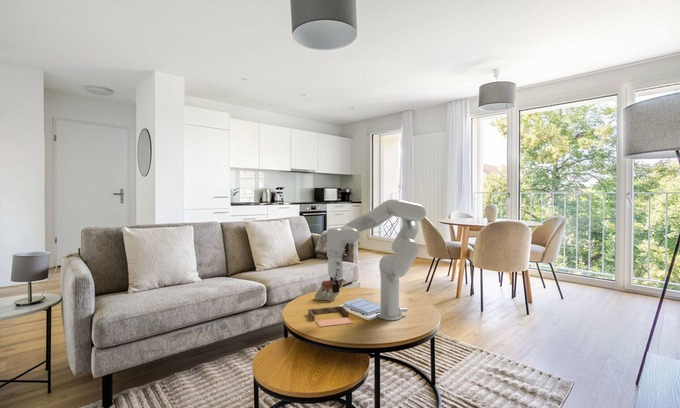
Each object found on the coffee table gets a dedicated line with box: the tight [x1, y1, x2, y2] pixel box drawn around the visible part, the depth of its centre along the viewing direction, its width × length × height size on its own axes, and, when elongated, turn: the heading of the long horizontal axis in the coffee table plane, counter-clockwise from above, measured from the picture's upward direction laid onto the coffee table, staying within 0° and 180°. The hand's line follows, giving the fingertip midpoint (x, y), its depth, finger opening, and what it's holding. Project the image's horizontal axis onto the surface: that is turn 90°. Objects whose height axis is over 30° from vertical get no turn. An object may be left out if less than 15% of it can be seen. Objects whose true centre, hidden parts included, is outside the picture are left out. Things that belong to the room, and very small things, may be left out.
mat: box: [316, 317, 353, 328], centre depth 156 cm, size 16×7×1 cm, turn 108°
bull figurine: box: [321, 276, 349, 296], centre depth 156 cm, size 4×13×8 cm, turn 112°
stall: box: [307, 305, 350, 322], centre depth 166 cm, size 19×10×2 cm, turn 108°
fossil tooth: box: [314, 286, 338, 302], centre depth 193 cm, size 12×6×15 cm
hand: (334, 290), depth 156 cm, fingers closed on bull figurine, 4 cm apart
